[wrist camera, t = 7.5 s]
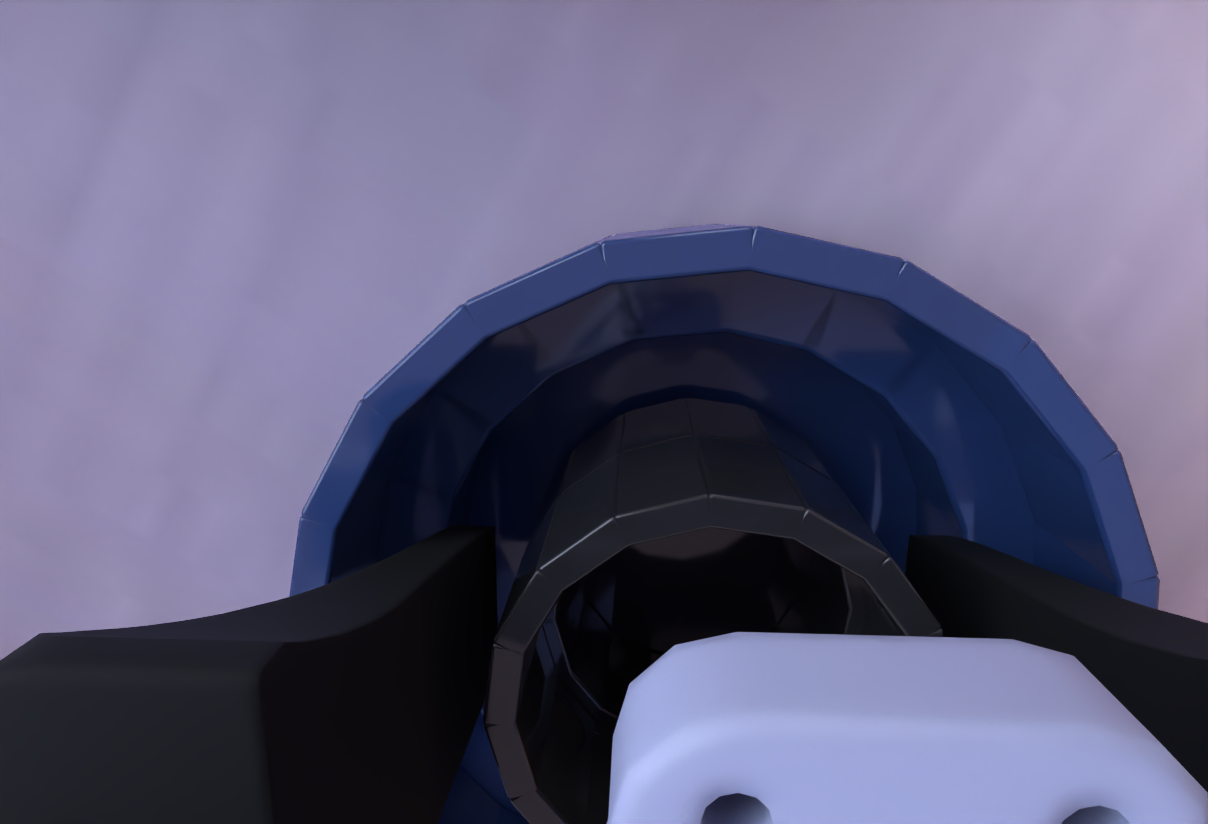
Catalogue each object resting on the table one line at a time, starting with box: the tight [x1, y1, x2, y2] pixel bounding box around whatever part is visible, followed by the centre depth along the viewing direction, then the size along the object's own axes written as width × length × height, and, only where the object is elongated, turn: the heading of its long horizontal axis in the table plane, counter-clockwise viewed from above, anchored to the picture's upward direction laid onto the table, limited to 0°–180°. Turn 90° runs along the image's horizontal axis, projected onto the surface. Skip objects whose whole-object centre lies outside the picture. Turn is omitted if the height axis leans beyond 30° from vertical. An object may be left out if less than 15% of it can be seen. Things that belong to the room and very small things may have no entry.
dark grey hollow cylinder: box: [483, 398, 945, 824], centre depth 12 cm, size 5×5×5 cm
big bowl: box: [289, 224, 1160, 824], centre depth 13 cm, size 11×11×5 cm
